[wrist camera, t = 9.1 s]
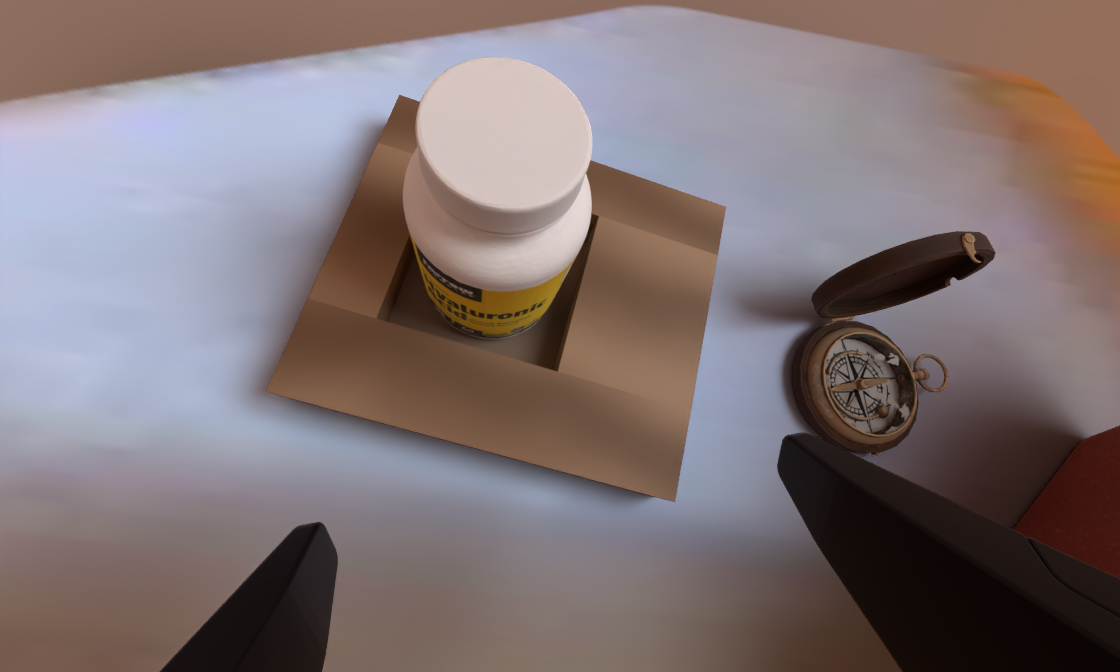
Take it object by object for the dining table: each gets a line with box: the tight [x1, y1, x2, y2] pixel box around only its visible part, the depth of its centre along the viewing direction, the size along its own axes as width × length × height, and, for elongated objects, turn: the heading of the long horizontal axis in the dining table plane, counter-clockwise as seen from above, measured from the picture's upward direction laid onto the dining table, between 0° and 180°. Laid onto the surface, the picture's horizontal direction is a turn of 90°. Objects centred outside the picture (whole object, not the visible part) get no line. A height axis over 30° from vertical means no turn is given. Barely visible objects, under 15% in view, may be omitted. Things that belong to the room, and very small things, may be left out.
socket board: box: [266, 95, 726, 502], centre depth 19 cm, size 13×15×2 cm
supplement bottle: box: [403, 57, 592, 340], centre depth 15 cm, size 5×5×10 cm
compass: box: [793, 231, 995, 455], centre depth 19 cm, size 8×8×7 cm
